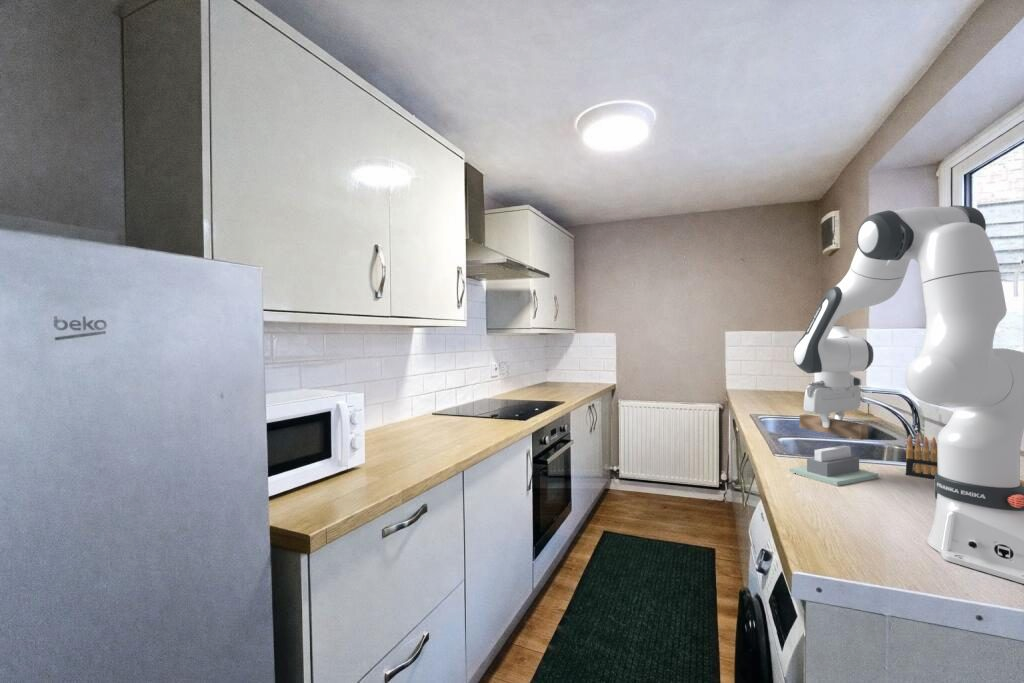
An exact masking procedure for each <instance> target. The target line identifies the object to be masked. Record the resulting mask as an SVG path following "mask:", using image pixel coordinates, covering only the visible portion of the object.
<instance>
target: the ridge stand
mask: <svg viewBox="0 0 1024 683" xmlns="http://www.w3.org/2000/svg"><path fill="white" fill-rule="evenodd" d="M790 472H793V473H796V474H795V475H797V474H799V475H798V476H800V475H802V476H801V477H804V476H805V477H804V478H807V477H808V479H810V478H811V479H810V480H814V481H818V482H820V483H825V484H828V485H831V486H834V487H835V486H836V487H838V486H839V487H840V486H845V485H849V484H854V483H855V484H856V483H860V482H864V481H869V480H875V478H876V479H879V473H877V472H873V471H868V470H865V469H861V468H860V458H859V457H856V456H852V447H851V446H849V445H848V446H847V445H837V446H832V447H831V446H830V447H825V448H818V449H814V457H808V458H806V465H803V466H797V467H791V468H789V473H790ZM793 473H792V474H793Z"/></svg>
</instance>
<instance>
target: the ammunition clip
mask: <svg viewBox="0 0 1024 683" xmlns="http://www.w3.org/2000/svg"><path fill="white" fill-rule="evenodd" d="M907 436H908V437H907V440H906V441H907V442H906V449H905V452H906V456H905V457H906V460H905V462H906V464H905V465H906V466H905V475H906V476H909V477H915V478H922V479H927V478H928V479H929V480H934V479H935V473H936V472H938V458H937V439H936V438H935V437H932V439H931V443H930V445H929V440H928V437H927V436H924V438H923V441H922V446H921V438H920V436H919V435H916V437H915V442H914V445H913V438H912V435H911V434H909V435H907ZM929 446H931V447H930V448H929Z"/></svg>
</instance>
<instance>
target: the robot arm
mask: <svg viewBox="0 0 1024 683" xmlns="http://www.w3.org/2000/svg"><path fill="white" fill-rule="evenodd" d="M986 228H987V224H986V218H985V216H984V215H983V213H982V212H981V211H980V210H979V209H977V208H975V207H972V206H966V205H950V206H915V207H914V206H913V207H907V208H901V209H896V210H884V211H880V212H875V213H873V214H871V215H868V216H867V217H866V218H865V219H864V220H863V221H862V223H861V224H860V226H859V228H858V230H857V234H856V245H857V249H856V251H855V253H854V255H853V258H852V259H851V263H850V267H849V269H848V271H847V273H846V274H845V276H844V277H843V278H842V279H841V281H840V282H838V283H837V284H836V285H835V286H833V287H832V288H829V289H828V291H826V293H825V294H824V296H823V298H822V299H821V301H820V302H819V305H818V307H817V308H816V310H815V312H814V314H813V316H812V318H811V320H810V321H809V324H808V326H807V328H806V330H805V331H804V334H803V335H802V337H801V338H800V339H799V340H798V342H797V343H796V344H795V346H794V349H793V362H794V364H795V365H796V366H797V367H798V368H799V369H800V370H802V371H803V372H804V373H807V374H813V375H814V376H813V377H814V380H813V381H811V382H809V384H808V386H806V388H805V392H804V397H803V410H804V412H805V413H806V414H809V415H819V417H820V418H821V420H822V426H823V427H825V428H830V427H832V425H831V424H832V422H830V420H829V418H830V414H831V413H834V415H835V416H834V418H833V419H837V420H843V419H844V418H845V414H846V412H848V411H858V409H859V408H860V406H861V400H862V399H861V398H862V394H861V393H862V392H861V390H862V389H861V387H860V386H862V378H860V377H857V376H855V375H853V374H851V372H852V373H855V372H862V371H863V372H864V371H866V370H867V369H868V368H869V367H870V366H872V363H873V361H874V349H873V346H872V345H871V343H869V342H868V340H866V339H864V338H862V337H861V338H860V337H857V336H856V335H853V334H852V333H850V331H849V328H848V327H847V326H844V325H835V324H836V323H837V321H838V320H839V319H840V318H842V317H844V316H845V315H847V314H850V313H852V312H855V311H859V310H861V309H865V308H868V307H869V308H870V307H873V306H877V305H879V304H881V303H884V302H886V301H888V300H889V299H892V297H894V296H895V294H896V293H897V292H898V291H899V289H900V287H901V286H902V284H903V282H904V278H905V277H906V273H907V271H908V268H909V266H910V262H911V260H915V261H916V262H917V263H918V266H919V272H920V280H921V286H922V287H921V288H922V295H923V301H924V302H923V303H924V309H925V317H926V319H925V320H926V322H925V325H926V326H925V331H924V338H923V342H922V345H921V348H920V351H919V353H918V354H917V356H916V357H915V358H914V359H913V360H912V361H911V362H910V363H909V364H908V366H907V368H906V372H905V382H906V386H907V388H908V391H910V393H911V394H912V395H913V396H914V397H915V398H917V399H918V400H919V401H921V402H923V403H925V404H928V405H932V406H933V405H934V406H938V407H943V408H948V409H949V408H951V409H954V410H953V413H952V415H951V417H950V419H949V420H948V421H947V424H945V426H943V427H942V428H941V429H940V431H939V432H938V434H937V439H936V444H937V458H938V472H936V473H935V480H934V484H933V489H934V498H935V501H936V503H935V510H934V516H933V522H932V525H931V529H930V532H929V535H928V536H927V538H926V542H927V544H928V545H929V546H930V547H931V548H933V549H934V550H935V551H937V552H938V553H939V554H940V555H941V558H942V559H943V560H944V561H947V562H950V563H953V564H956V565H960V566H963V567H966V568H970V569H973V570H976V571H980V572H983V573H986V574H989V575H994V576H995V577H999V578H1004V579H1007V580H1011V581H1013V582H1016V583H1020V584H1023V585H1024V485H1022V483H1021V445H1022V441H1023V436H1024V351H1021V350H1015V349H1011V348H1003V347H1000V348H999V347H998V348H997V347H996V348H993V347H994V340H995V333H996V331H997V328H998V325H999V323H1000V322H1001V321H1002V320H1003V319H1004V318H1005V316H1006V314H1007V305H1006V304H1007V303H1006V299H1005V292H1004V288H1003V283H1002V276H1001V270H1000V267H999V262H998V260H997V259H998V258H997V256H996V252H995V251H994V247H993V245H992V243H991V242H992V241H991V240H990V238H989V236H988V234H987V232H986Z"/></svg>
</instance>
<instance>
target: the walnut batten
mask: <svg viewBox="0 0 1024 683" xmlns="http://www.w3.org/2000/svg"><path fill="white" fill-rule="evenodd" d="M829 420H830V422H832V424H831V425H832V427H830V428H825V427H823V426H822V420H821V418H820V416H818V415H814V414H808V413H806V414H800V415H799V429H805V430H810V431H814V432H820V433H824V434H825V433H826V434H830V435H835V436H840V437H846V438H850V439H855V440H860V441H862V440H868V439H869V424H866V423H861V422H855V421H848V420H843V419H842V420H837V419H834V418H830V417H829Z"/></svg>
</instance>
